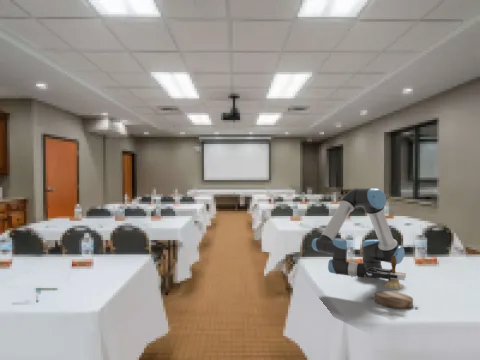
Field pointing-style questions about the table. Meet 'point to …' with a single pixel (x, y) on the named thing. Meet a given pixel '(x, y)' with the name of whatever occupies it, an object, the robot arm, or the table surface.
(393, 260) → the hand bell
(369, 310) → the table surface
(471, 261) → the table surface
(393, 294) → the walnut stand
